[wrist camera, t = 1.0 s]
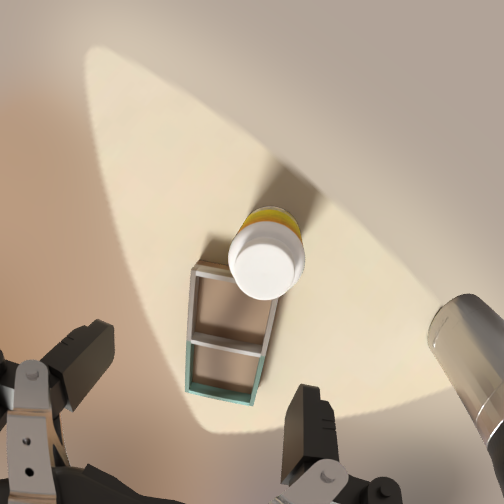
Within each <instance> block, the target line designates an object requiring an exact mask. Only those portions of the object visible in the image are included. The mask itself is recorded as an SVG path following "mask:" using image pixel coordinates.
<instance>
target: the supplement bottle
mask: <svg viewBox="0 0 504 504" xmlns="http://www.w3.org/2000/svg"><path fill="white" fill-rule="evenodd" d="M228 263H229V268H230V271H231V273H232V275H233V277H234V278H235V281H236V283H237V285H238V286H239V288H240V289H241V290H242V291H243V292H244V293H245V294H247V295H248V296H250V297H252V298H255V299H259V300H271V299H275V298H278V297H280V296H281V295H283V294H284V293H285V292H287V291H288V289H290V288H291V287H292V286H293V285H295V283H296V282H297V281H298V280H299V278H300V277H301V275H302V273H303V270H304V266H305V252H304V248H303V243H302V238H301V234H300V229H299V226H298V223H297V221H296V220H295V218H294V217H293V216H292V215H291V214H290V213H289V212H288V211H286V210H284V209H282V208H279V207H274V206H266V207H262V208H259V209H257V210H255V211H254V212H252V213H251V214H250V215H249V216H248V217H247V218H246V220H245V222H244V223H243V225H242V226H241V228H240V230H239V231H238V233H237V234H236V236H235V237H234V239H233V241H232V243H231V246H230V249H229V254H228Z"/></svg>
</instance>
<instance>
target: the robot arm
mask: <svg viewBox="0 0 504 504" xmlns="http://www.w3.org/2000/svg"><path fill="white" fill-rule="evenodd" d="M428 345H429V348H430V349H431V351H432V353H433V354H434V356H435V357H436V359H437V360H438V362H439V364H440V365H441V367H442V369H443V370H444V372H445V374H446V375H447V377H448V379H449V380H450V382H451V384H452V385H453V387H454V389H455V390H456V392H457V394H458V396H459V397H460V399H461V401H462V403H463V404H464V406H465V408H466V410H467V412H468V414H469V415H470V417H471V419H472V421H473V423H474V425H475V427H476V428H477V430H478V432H479V434H480V436H481V438H482V440H483V442H484V444H485V446H486V448H487V450H488V452H489V454H490V456H491V459H492V462H493V466H494V471H495V474H496V477H497V480H498V482H499V485H500V488H501V490H502V493H503V497H504V320H503V319H502V318H501V317H500V316H499V315H498V314H497V313H495V312H494V311H493V310H492V309H491V308H490V307H489V306H488V305H487V304H486V303H484V302H483V301H482V300H481V299H480V298H479V297H477V296H476V295H473V294H463V295H460V296H457V297H455V298H454V299H452V300H451V301H449V302H448V303H447V304H445V305H444V306H443V307H442V308H441V310H440V311H439V312H438V313H437V315H436V316H435V318H434V320H433V322H432V323H431V326H430V329H429V333H428ZM114 348H115V347H114V327H113V325H111V324H108V323H106V322H104V321H101V320H99V319H96V320H95V321H94V322H92V324H90V325H89V326H88V327H87V326H85V325H84V326H81V327H79V328H76V329H74V330H73V331H72V332H71V333H69V334H68V335H67V337H65V338H64V339H63V340H62V341H61V343H60V342H59V343H58V344H57V345H56V346H55V347H54V348H53V349H52V350H51V351H49V352H48V353H47V354H46V355H45V356H44V357H43V358H42V359H41V360H40V361H37V360H26V361H24V362H22V363H21V364H17V363H14V362H11V361H8V360H5V359H4V356H3V353H2V351H1V350H0V431H1V430H2V428H3V427H4V426H5V425H6V423H7V463H8V475H9V478H6V479H0V504H185V503H181V502H178V501H175V500H168V499H160V498H153V497H147V496H142V495H139V494H138V493H136V492H135V491H133V490H132V489H131V488H129V487H127V486H126V485H125V484H123V483H122V482H121V481H119V480H118V479H117V478H115V477H114V476H112V475H109V474H107V473H105V472H103V471H101V470H99V469H97V468H96V467H94V466H92V465H90V464H87V466H86V467H85V469H83V468H78V467H71V466H70V463H69V460H68V457H67V453H66V448H65V442H64V435H63V427H62V418H61V413H60V412H61V411H62V410H63V408H66V409H68V410H69V411H71V412H74V410H75V409H76V408H77V406H78V405H79V404H80V403H81V401H82V400H83V399H84V397H85V396H86V395H87V393H88V392H89V391H90V390H91V389H92V387H93V386H94V385H95V384H96V382H97V381H98V380H99V379H100V377H101V376H102V375H103V374H104V372H105V371H106V370H107V369H108V367H109V366H110V365H111V363H112V361H113V359H114V353H115V349H114ZM334 422H335V417H334V410H333V409H332V407H331V405H330V404H329V402H328V401H324V400H320V389H319V387H315V386H310V385H305V384H300V385H299V387H298V389H297V391H296V393H295V395H294V397H293V399H292V401H291V403H290V405H289V407H288V409H287V412H286V416H285V426H284V442H283V458H282V471H281V484H284V485H289V488H288V489H287V490H286V491H284V492H283V493H282V494H281V495H280V496H278V497H276V498H275V499H274V500H272V501H271V502H269V503H268V504H403V503H402V496H401V490H400V487H399V485H398V484H397V483H396V482H395V481H394V480H393V479H391V478H388V477H378V478H375V479H374V480H372V481H371V482H369V481H365V480H362V479H359V478H356V477H353V476H351V475H349V474H348V472H347V470H346V468H345V467H344V466H343V465H342V464H341V463H340V462H339V455H338V445H337V435H336V431H335V430H336V426H335V423H334Z"/></svg>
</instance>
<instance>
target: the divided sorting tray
mask: <svg viewBox="0 0 504 504" xmlns="http://www.w3.org/2000/svg"><path fill="white" fill-rule="evenodd" d="M278 298H279V297H278ZM278 298H275V299H271V300H259V299H255V298H252V297H250V296H248V295H247V294H245V293H244V292H243V291H242V290H241V289H240V288H239V286H238V285H237V283H236V281H235V278H234V277H233V275H232V273H231V271H230V268H229V266H228V265H222V264H217V263H212V262H206V261H201V260H199V261H198V262H197V263H196V264H195V266H194V267H193V268H192V269H191V276H190V290H189V305H188V321H187V341H186V368H185V392H187V393H191V394H196V395H200V396H204V397H208V398H213V399H217V400H222V401H227V402H232V403H237V404H243V405H248V406H253V405H254V401H255V397H256V393H257V389H258V385H259V381H260V377H261V373H262V368H263V364H264V360H265V356H266V351H267V347H268V343H269V338H270V334H271V330H272V325H273V321H274V316H275V312H276V307H277V303H278Z"/></svg>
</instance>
